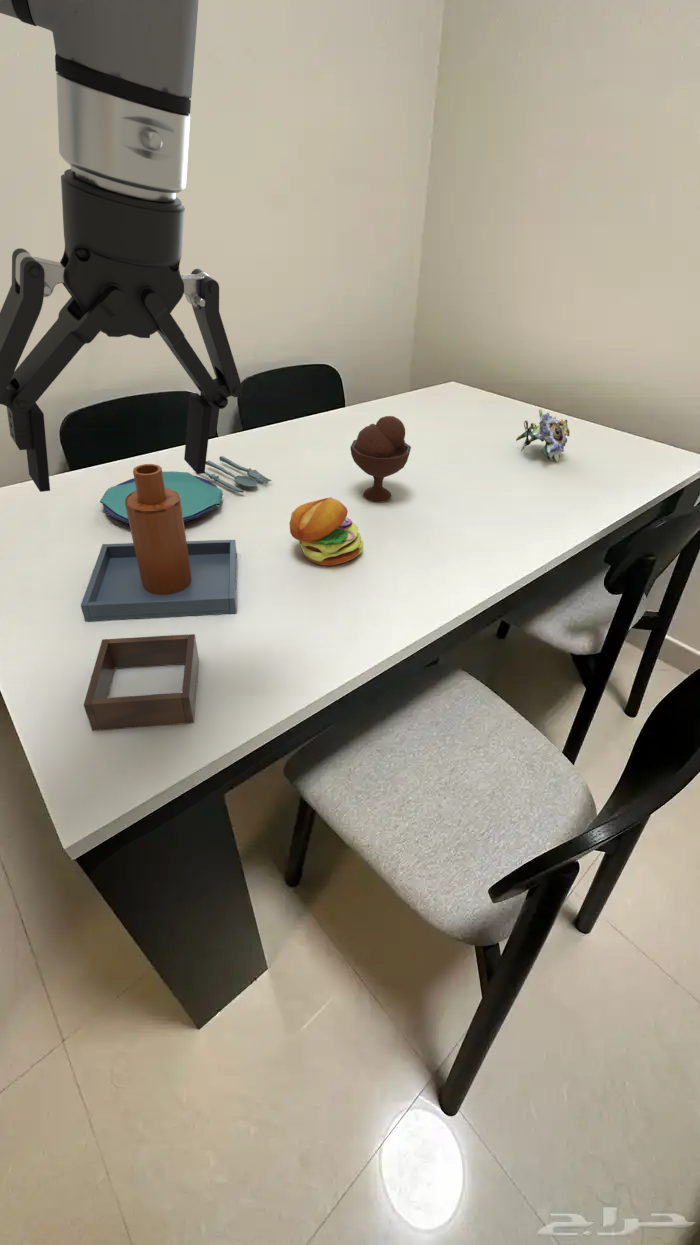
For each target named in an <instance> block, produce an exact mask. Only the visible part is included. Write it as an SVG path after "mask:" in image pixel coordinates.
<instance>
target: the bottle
mask: <svg viewBox="0 0 700 1245" xmlns="http://www.w3.org/2000/svg"><path fill="white" fill-rule="evenodd" d="M162 472H163V468H162V467H161V466H160V465H158V464H155V463H144V464H139V465H137V466H135V467H134V468H133V470H132V474H133V478H134V480H135V485H136V490H137V491H134V492H132V493H131V494H129V495H128V496H127V497H126V499H125V506H126V511H127V515H128V520H129V523H128V524H129V529H130V534H131V538H132V543H133V544H134V548H135V553H136V558H137V562H138V567H139V572H140V576H141V581H142V584H143V587H144V589H145V590H147V591H148V592H150V593H153V594H158V595H168V594H174V593H177V592H180V591H182V590H184V589H185V588H187V587H188V586H189V585H190V583H191V580H192V578H191V568H190V562H189V555H188V548H187V541H188V540H187V536H186V530H185V522H184V521H183V514H182V507H181V500H180V495H179V494H178V493H177V492H176V491H174V490H172V489H169V488H165V486H164V479H163V473H162Z"/></svg>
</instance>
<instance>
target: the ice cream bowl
mask: <svg viewBox="0 0 700 1245" xmlns="http://www.w3.org/2000/svg"><path fill="white" fill-rule="evenodd" d="M405 437H406V427H405V424H404V423H403V421H402V420H401V419H400V418H398V417H396V416H394V415H385V416H382V417H380V418H378V420H377V421H376V423H370V424H369V425H367V426H365V427H364V428H362V429H361V430H360V431H359V432H358V434H357V436H356V439H354V440H353V442H352V443H351V445H350V448H349V449H350V455H351V457H352V460H353V462H354V463H355V464H356V465H357V466H358V468H360V469H361V471H363V472H364V473H365V474H367V475H368V476H370V477H372V478H373V485H371V486H370V487H367V488H365V489H364V491H363V494H362V497H363V498H364V499H366V500H367V501H371V502H374V503H377V502H378V503H385V502H387V501H390V500H391V498H392V491H390V490H389V489H387V488H386V487H384V485H383V483H384V479H385V478H387V477H390V476H393V475H394V474H397V473H399V471H401V470H402V469H403V468H404V467H405V466H406V465H407V462H408V459H409V456H410V453H411V450H412V446H411V445H409V444H408V443H407V442H406V440H405Z"/></svg>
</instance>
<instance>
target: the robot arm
mask: <svg viewBox="0 0 700 1245" xmlns="http://www.w3.org/2000/svg"><path fill="white" fill-rule="evenodd" d="M198 12H199V0H0V14H2V15H5V16H9V17H12V18H13V19H14V18H15V19H18V20H19V21H20V22H22V23H25V24H27V25H31V26H34V27H40V28H43V29H45V30H48V31H50V32H51V33H52V37H53V45H54V52H55V55H54V64H55V65H54V66H55V72H56V74H55V75H56V78H55V79H56V101H57V102H56V104H57V128H58V129H57V131H58V153H59V155H60V156H61V158H62V159H63V161H64V162H66V163H67V164H68V165H70V168H69V169H65V171H64V173H63V174H62V175H60V184H61V185H60V187H61V204H62V205H61V206H62V225H63V227H62V228H63V239H64V240H63V241H64V250H63V254H62V257H61V259H60V261H55V260H50V259H46V258H41V257H37V256H34V255H33V254H31V253H30V252H29V251H28V250H27V249H25V248H23V247H22V248H21V247H20V248H16V249H14V250H13V252H12V255H11V284H10V288H9V290H8V292H7V295H6V297H5V299H4V302H3V304H2V307H1V310H0V405H2V406H4V407H6V412H7V420H8V428H9V436H10V438H11V439H12V441H13V442H14V443H15V445H16V447H17V448H18V450H19V451H26V460H27V468H28V469H27V470H28V475H29V477H30V478H31V480H32V481H33V483H34V485H35V486H36V488H37V489H38V491H39V492H40V493H42V492H51V484H50V474H49V473H50V472H49V462H48V460H49V459H48V449H47V437H46V426H45V425H46V424H45V415H44V412H43V410H42V409H41V408H40V407H39V405H38V404H37V402H38V401H39V400H40V398H41V397H42V396H43V394H44V393H45V392H46V391H47V389H48V388H49V387H50V386H51V385H52V384H53V382H55V381H56V379H57V378H58V377H59V375H60V374H61V373H62V371H63V370H64V369H65V368H66V367H67V366H68V364H69V363H70V362H71V361H72V360H73V358H75V357H76V355H77V354H78V352H79V351H80V350H81V349H82V348H83V347H84V345H86V344H87V345H88V344H90V343H92V342H93V341H94V340H95V338H96V337H97V335H99V333H100V332H101V333H102V334H105V335H106V336H107V337H109V338H121V337H125V336H133V337H135V338H139V339H150V338H151V336H152V335H154V334H155V333H156V332H157V333H158V335H159V336H160V337H161V338H162V340H163V341H164V343H165V345H166V346H167V348H169V350H170V351H171V353H172V354H173V356H174V357H175V358H176V359H177V362H178V363H179V364H180V365H181V367H182V368H183V370H184V371H185V373H186V374H187V375H188V377H189V378H190V379H191V381H192V382H193V384H194V385H195V386H196V388H197V389H198V390H199V392H200V394H199V393H198V392H190V393H189V397H188V408H187V420H186V432H185V445H184V456H183V459H184V461H185V462H186V463H187V464H188V466H189V467H190V468H191V469H192V471H194V472H195V473H196V474H197V475H201V474H202V475H203V474H204V473H205V472H206V466H207V465H206V461H207V455H208V447H209V437H215V436H216V433H217V431H218V423H219V417H220V416H219V414H220V410H223V409H225V408H226V407H227V406H228V404H229V399H228V398H229V397H233V398H239V397H240V396H241V395H242V393H243V386H242V382H241V378H240V375H239V372H238V369H237V366H236V362H235V359H234V355H233V353H232V349H231V345H230V343H229V339H228V336H227V332H226V329H225V326H224V323H223V319H222V316H221V313H220V284H219V282H218V281H217V280H215V279H214V278H213V277H212V276H211V275H209V274H208V273H206V272H205V271H204V270H202V269H201V268H195V269H193V270H192V271H191V272H190V274H181V270H180V263H181V260H182V256H183V247H184V246H183V245H184V228H185V213H186V209H185V206H184V205H183V202H182V200H181V199H180V198H179V197H178V196H177V194H178V193H181V192H182V191H184V190H185V188H186V187H187V175H188V159H189V142H190V129H191V128H190V127H191V109H192V108H191V107H192V106H191V105H192V100H191V99H192V95H193V94H192V92H193V82H194V81H193V80H194V68H195V67H194V66H195V54H196V52H195V51H196V40H197V26H198V25H197V24H198ZM58 284H61V285H63V286H64V288H65V289H66V291H67V293H68V294H69V295H70V298H69V299H68V300H67V301H66V303H65V304H64V305H63V306H62V308H61V309H60V310H59V312H58V317H57V319H56V321H55V322H53V324H52V325H51V326H50V328H49V329H48V330H47V331H46V333H45V334H43V336H42V337H41V338H40V340H39V341H38V343H36V344H35V346H34V347H33V348H32V349H31V350H30V352H29V353H28V355H27V356H26V357H24V359H23V361H22V362H21V363H20V364H19V362H20V360H21V357H22V355H23V353H24V351H25V348H26V346H27V344H28V342H29V339H30V337H31V334H32V332H33V330H34V328H35V326H36V323H37V322H38V318H39V316H40V314H41V311H42V308H43V304H44V298H48V297H50V296H51V295H52V294H53V293H54V292H53V291H54V290H55V287H56V286H57V285H58ZM184 295H185V296H184ZM183 296H184V297H185V300H186V301H187V302H188V303H189V304H190V305H191V308H192V311H193V314H194V317H195V320H196V323H197V326H198V329H199V331H200V334H201V337H202V340H203V344H204V346H205V349H206V353H207V355H208V358H209V360H210V363H211V367H212V370H213V371H214V375H215V378H213V377H212V375H211V374H210V372H209V371H208V370H207V368H206V366H205V365H204V364H203V362H202V361H201V359H200V357H199V356H198V354H197V353H196V352H195V350H194V349H193V347H192V345H191V344H190V343H189V341H188V340H187V338H186V335H185V334H184V331H183V330H182V329H181V327H180V326H179V324H178V323H177V321H176V320H175V318H174V317H173V315H172V312H173V310H174V309H175V308H176V307H177V305H178V304H179V302H180V301H181V300H182V298H183ZM18 364H19V366H18Z"/></svg>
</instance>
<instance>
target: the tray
mask: <svg viewBox="0 0 700 1245" xmlns="http://www.w3.org/2000/svg"><path fill="white" fill-rule="evenodd" d="M186 541H187V548H188V555H189V562H190V568H191V578H192V580H191V583H190V585H189V586H188V587H187V588H185V589H184V590H182V591H180V592H177V593H174V594H168V595H158V594H153V593H150V592H148V591H147V590H145V589H144V587H143V584H142V581H141V576H140V572H139V567H138V562H137V558H136V553H135V548H134V544H133V542H127V543H125V542H122V543H102V544H101V548H100V550H99V553H98V556H97V559H96V562H95V565H94V567H93V570H92V573H91V575H90V578H89V581H88V584H87V587H86V590H85V592H84V595H83V598H82V601H81V603H80V609H81V612H82V615H83V618H84V621H85V622H99V621H115V620H116V621H118V620H134V619H135V620H138V619H155V618H173V617H174V618H175V617H191V616H192V617H194V616H208V615H209V616H210V615H211V616H212V615H213V616H214V615H229V614H231V615H232V614H237V557H238V556H237V554H238V553H237V544H236V539H215V540H214V539H212V540H211V539H209V540H186Z"/></svg>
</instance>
